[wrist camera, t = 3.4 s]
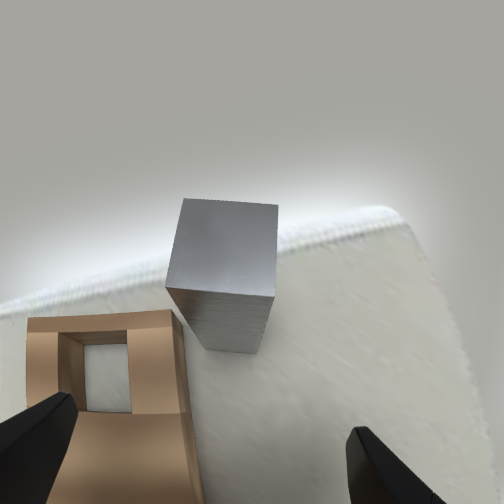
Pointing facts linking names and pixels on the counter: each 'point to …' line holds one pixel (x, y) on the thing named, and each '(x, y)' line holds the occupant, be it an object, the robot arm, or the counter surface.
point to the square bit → (225, 271)
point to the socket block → (120, 423)
